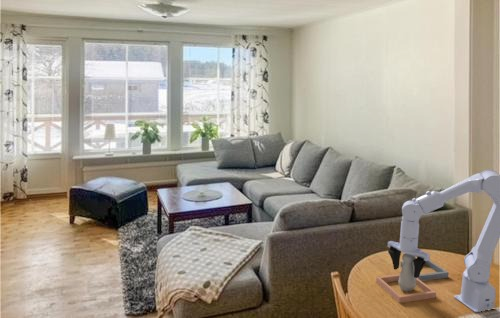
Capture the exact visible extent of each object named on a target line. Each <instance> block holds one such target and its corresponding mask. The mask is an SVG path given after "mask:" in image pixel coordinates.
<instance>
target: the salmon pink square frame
mask: <svg viewBox="0 0 500 318" xmlns="http://www.w3.org/2000/svg"><path fill="white" fill-rule="evenodd" d="M399 277H400V273H398V274H391V275H390V274H389V275H381V276H376V278H375V279H376V280H375V283H376V284H377V285H379V286H380V287H381V288H382V289H383V290H384V291H386V293H387V294H388V295H390V296H391V297H392V298H393V299H394V300H395V301H396V302H397V303H398V304H400V303H401V304H402V303H407V302H415V301H421V300H429V299H436V298H437V292H436V291H435V290H434V289H433V288H431V287H430V286H428V285H427V284H426V283H425V282H423V281H421V280H419V279H418V278H416V286H417V287H419V288H420V290H422V291H424V292H416V293H408V294H399V293H398V292H397V291H396V290H395V289H394V288H393V287H391V286H390V285H389V284H388V283H390V282H392V283H393V282H398V281H399Z"/></svg>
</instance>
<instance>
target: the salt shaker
mask: <svg viewBox="0 0 500 318" xmlns="http://www.w3.org/2000/svg"><path fill="white" fill-rule="evenodd" d="M401 258H402V259H401V260H402V261H404V263H403V266H402V267H401V270H400V272H399V274H400V277H399V281H397V283H398V286H399V287H400V290H401V291H403V292H405V293H411V292H413V290H414V289H415V288H416V286H417V285H416V278H414V261H413V260H414V259H416V258H417V257H416V256H413V255H410V254H407V253H403V254H402V257H401Z"/></svg>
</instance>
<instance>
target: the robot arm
mask: <svg viewBox="0 0 500 318" xmlns="http://www.w3.org/2000/svg"><path fill="white" fill-rule="evenodd" d="M483 192H484V193H485V194H487V196H489V197H490V198H491V200H492V201H493V203H492V206H491V209H490V211H489V213H488V215H487V218H486V220H485V222H484V225H483V227H482V229H481V232H480V233H479V237H478V240H477V241H476V244H475V245H474V246H473V247H472V248H471V249H470V252H469V253H467V254H466V255H465V256H464V257H463V258H464V259H463V263H464V266H465V269H464V271H463V273H462V278H461V279H462V280H461V288H460V294H455V295H453V296H454V297H453V298H455V299H456V300H458V301H459V302H460V303H461V304H463V305H464V306H466V307H467V308H469V309H470V310H471V311H473V312H474V313H482V312H486V311H485V310H488V309H492V308H496V309H497V307H495V303H496V296H497V291H496V288H495V287H494V286H493V285H492V284H491V283H490V281H489V280H490V278H491V266H492V263H493V262H492V260H493V253H494V252H495V249H496V247H497V245H498V243H499V240H500V174H499V172H498V171H496V170H493V169H485V170H483V171H482V172H478V173H475V174H473V175H471V176H469V177H467V178H465V179H463V180H461V181H459V182H457V183H455V184H453V185H452V186H451V185H450V187H447V188H445V189H443V190H441V191H436V190H432V191H430V190H428V191H426V192H425V194H423V195H421V196H419V197H416V198H415V197H413V198H412V199H411V200H407V201H405V202H403V204H402V206H401V213H402V216H401V221H400V232H399V233H400V234H399V242H396V241H393V240H390V241H387V248H389V249H388V254H389V256H390V259H391V261H392V265H393V266H392V267H393V270H395V271H396V270H397V269H399V268H400V263H401V261H400V259H401V255H402V253H403V254H405V253H407V254H410V255H413V256H415V257H416V259H414V260H413V261H414V278H417V277H419V275H420V274H421V272H422V269H423V268H424V266H425V263H426V262H427V261H428V260H430V259H431V254H430V253H428V252H426V251H424V250H421V249H420V248H418V244H419V234H420V233H419V232H420V223H419V221H420V219H421V217H422V215H426V214H428V213H431V212H433V211H435V210H438V209H440V208H442V207H444V205H445V202H446V201H449V200H452V199H454V198H457V197H460V196H462V195H465V194H467V193H476V194H483ZM430 261H431V260H430ZM481 311H482V312H481ZM488 311H489V310H488Z"/></svg>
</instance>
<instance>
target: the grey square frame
mask: <svg viewBox="0 0 500 318" xmlns="http://www.w3.org/2000/svg"><path fill="white" fill-rule="evenodd" d="M403 263H404V261H403V260H402V261H400V262H399V267H401V268H402V266H403ZM425 265H426V266H427V267H429V268H431V269H432V270H434V271H435V272H431V273H423V274H422V273H420V275H419V277H417V278H418V279H419V280H421V281H422V282H423V281H430V280H439V279H445V278H447V279H448V278H449V271H448V270H446V269H444V268H443V267H441V266H440V265H438V264H437V263H435V262H434V261H432V260H428V261H427V262H426V263H425ZM425 265H424V266H425Z"/></svg>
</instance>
